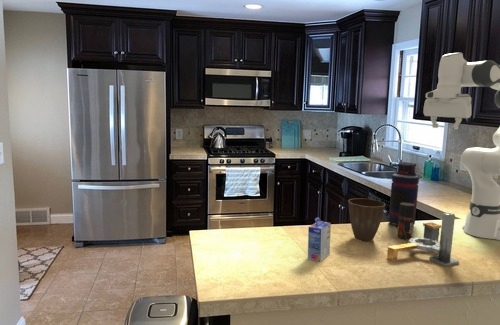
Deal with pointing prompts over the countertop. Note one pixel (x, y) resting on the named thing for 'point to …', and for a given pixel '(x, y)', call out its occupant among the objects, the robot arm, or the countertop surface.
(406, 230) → the deodorant
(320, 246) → the ink cartridge box
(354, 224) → the plant pot
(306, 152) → the countertop surface
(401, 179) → the thermos bottle
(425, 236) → the grey lidded jar
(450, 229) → the post
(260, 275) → the countertop surface
